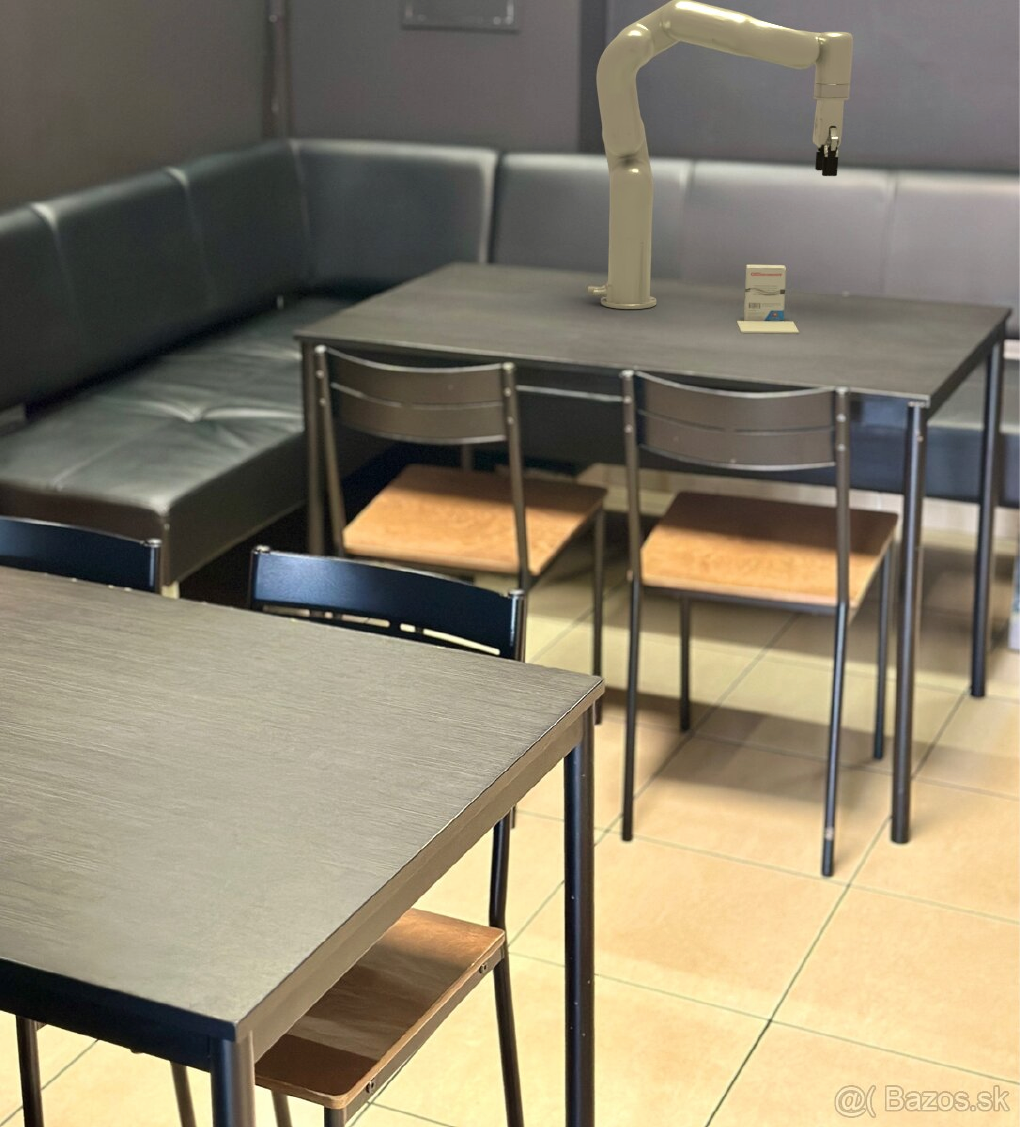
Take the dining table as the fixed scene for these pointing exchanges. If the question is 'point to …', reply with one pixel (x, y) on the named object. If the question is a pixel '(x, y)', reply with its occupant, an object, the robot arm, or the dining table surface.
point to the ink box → (765, 293)
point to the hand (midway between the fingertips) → (825, 173)
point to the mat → (767, 327)
